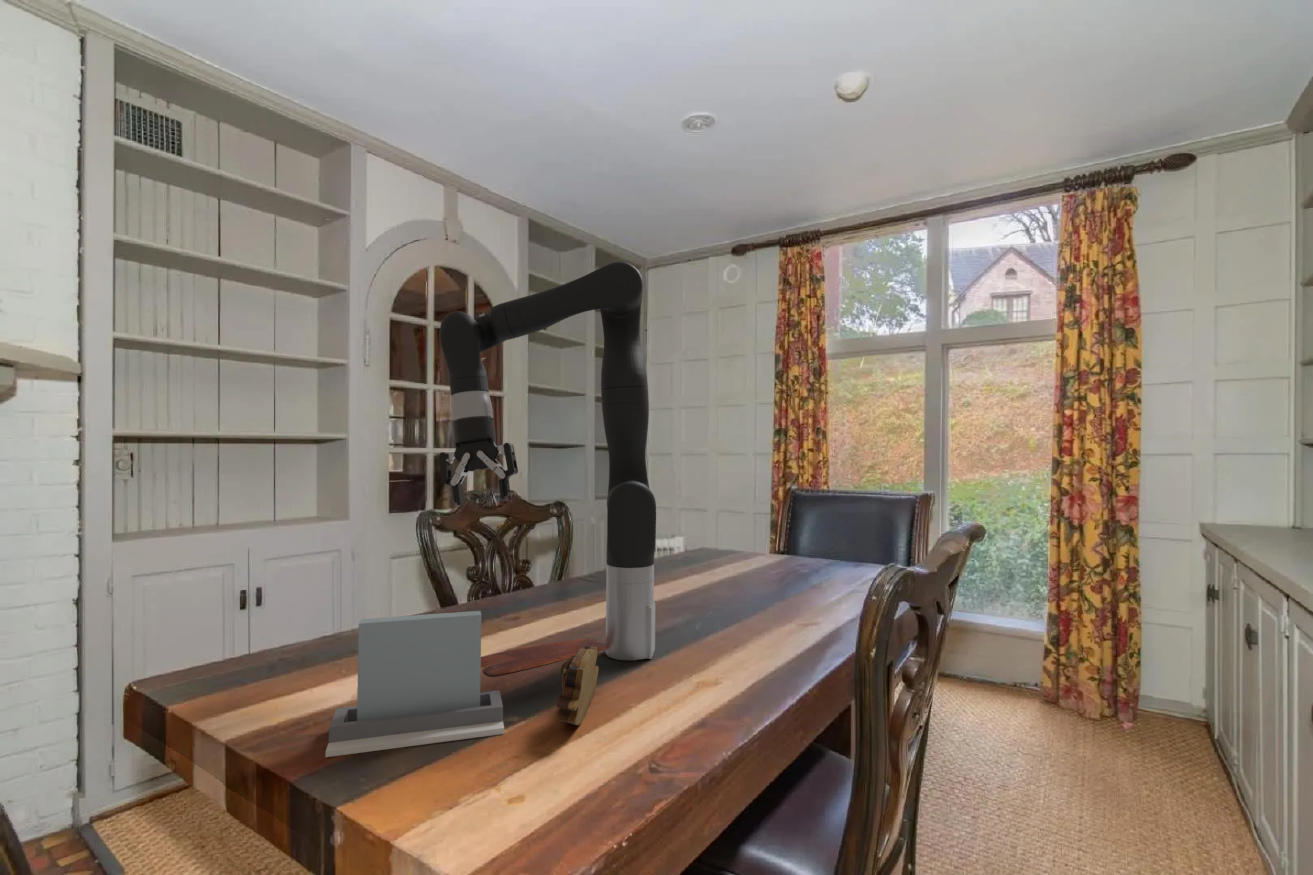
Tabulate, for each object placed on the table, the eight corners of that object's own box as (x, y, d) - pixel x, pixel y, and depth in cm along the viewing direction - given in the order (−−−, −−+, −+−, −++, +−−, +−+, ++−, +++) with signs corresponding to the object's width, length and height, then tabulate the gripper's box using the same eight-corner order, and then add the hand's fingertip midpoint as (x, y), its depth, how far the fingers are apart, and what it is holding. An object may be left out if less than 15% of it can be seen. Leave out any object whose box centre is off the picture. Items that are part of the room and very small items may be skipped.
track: (497, 703, 96) (498, 684, 97) (504, 733, 86) (504, 713, 86) (339, 721, 89) (339, 701, 90) (325, 757, 79) (325, 734, 79)
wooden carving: (571, 696, 100) (571, 632, 100) (599, 696, 99) (600, 633, 100) (550, 744, 83) (551, 668, 83) (584, 745, 83) (585, 668, 83)
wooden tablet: (492, 682, 107) (492, 672, 107) (467, 666, 115) (468, 657, 115) (617, 650, 124) (617, 642, 124) (588, 638, 132) (588, 631, 132)
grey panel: (477, 696, 97) (478, 601, 98) (479, 717, 89) (481, 615, 90) (363, 708, 92) (365, 609, 92) (356, 733, 84) (358, 624, 84)
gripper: (428, 421, 116) (438, 508, 115) (502, 410, 115) (513, 497, 114) (445, 424, 124) (454, 506, 123) (515, 414, 123) (525, 496, 121)
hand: (482, 502), depth 118 cm, fingers open, 8 cm apart
